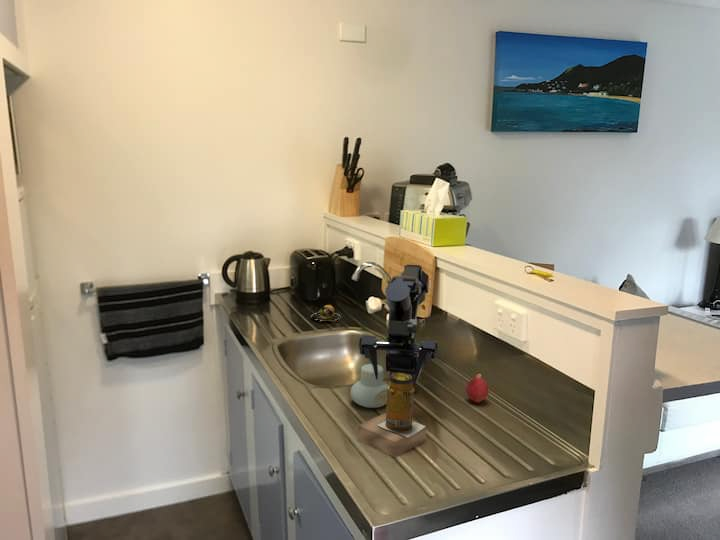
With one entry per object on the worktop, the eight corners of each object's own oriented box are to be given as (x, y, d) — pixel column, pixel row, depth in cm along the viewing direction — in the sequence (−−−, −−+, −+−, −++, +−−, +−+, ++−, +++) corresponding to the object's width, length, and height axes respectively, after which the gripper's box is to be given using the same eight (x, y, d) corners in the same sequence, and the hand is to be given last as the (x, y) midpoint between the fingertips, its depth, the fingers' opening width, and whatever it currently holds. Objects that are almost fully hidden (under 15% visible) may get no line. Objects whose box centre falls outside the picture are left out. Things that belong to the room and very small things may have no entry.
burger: (308, 316, 231) (308, 298, 230) (337, 315, 235) (337, 297, 233) (314, 325, 220) (314, 306, 219) (344, 324, 223) (344, 305, 222)
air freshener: (368, 415, 147) (369, 377, 145) (345, 404, 153) (346, 368, 151) (396, 402, 155) (398, 367, 153) (373, 393, 160) (374, 358, 158)
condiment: (395, 415, 139) (398, 368, 136) (425, 427, 134) (429, 378, 131) (377, 426, 133) (379, 377, 131) (407, 438, 128) (410, 387, 126)
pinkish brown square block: (358, 441, 135) (358, 424, 134) (389, 425, 142) (389, 410, 142) (394, 459, 127) (395, 442, 126) (425, 442, 135) (426, 426, 134)
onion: (471, 408, 153) (473, 379, 151) (461, 399, 158) (463, 371, 157) (491, 406, 154) (493, 377, 153) (481, 397, 160) (483, 369, 158)
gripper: (361, 303, 140) (354, 363, 132) (439, 307, 138) (438, 369, 130) (363, 325, 149) (357, 382, 141) (436, 329, 148) (435, 387, 139)
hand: (396, 380), depth 138 cm, fingers open, 9 cm apart
